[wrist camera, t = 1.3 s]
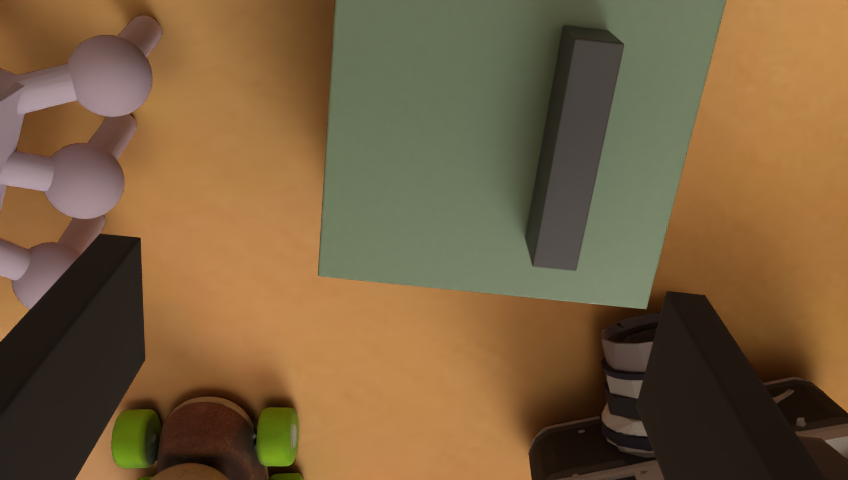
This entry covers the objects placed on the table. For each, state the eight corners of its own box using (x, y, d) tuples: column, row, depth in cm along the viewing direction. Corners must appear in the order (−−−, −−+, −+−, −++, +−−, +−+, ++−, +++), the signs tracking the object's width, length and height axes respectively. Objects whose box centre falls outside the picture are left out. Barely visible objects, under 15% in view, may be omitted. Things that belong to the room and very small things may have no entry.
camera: (799, 271, 41) (899, 321, 31) (827, 427, 42) (932, 522, 32) (500, 336, 43) (505, 402, 33) (535, 484, 44) (550, 590, 34)
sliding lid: (342, -83, 26) (332, -78, 24) (728, -37, 27) (764, -27, 24) (319, 267, 32) (309, 307, 29) (642, 300, 32) (663, 342, 29)
